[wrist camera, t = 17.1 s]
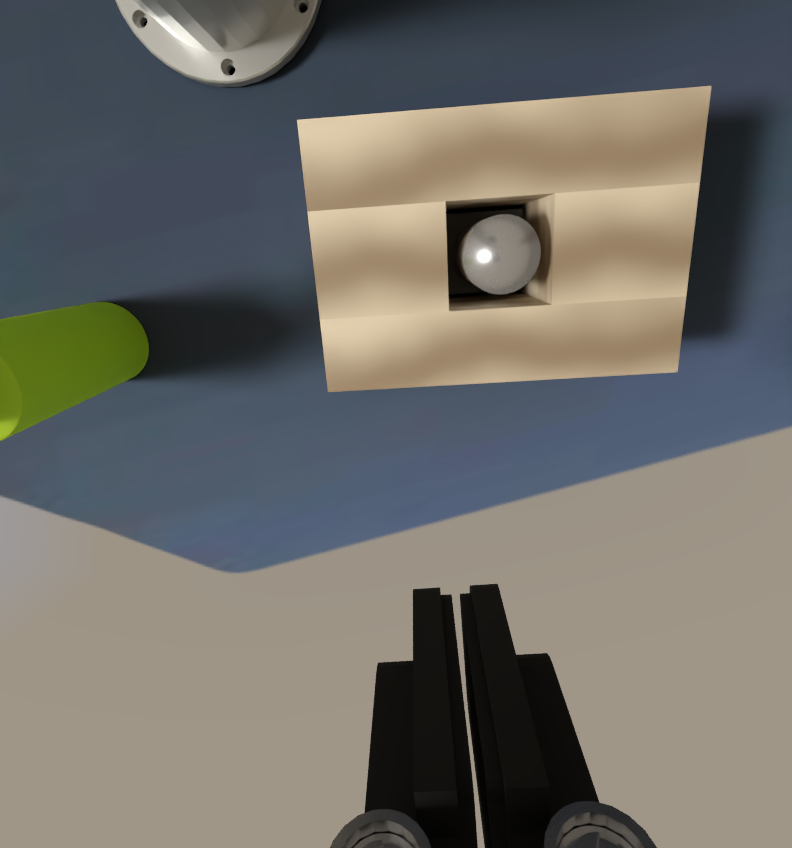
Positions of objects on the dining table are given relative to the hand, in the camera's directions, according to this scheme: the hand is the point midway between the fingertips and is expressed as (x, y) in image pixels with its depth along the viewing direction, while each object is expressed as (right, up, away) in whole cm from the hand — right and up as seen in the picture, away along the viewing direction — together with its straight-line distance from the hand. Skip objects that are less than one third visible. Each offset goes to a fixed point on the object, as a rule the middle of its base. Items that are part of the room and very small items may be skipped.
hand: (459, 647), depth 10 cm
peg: (+5, +16, +23) cm, 28 cm away
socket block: (+5, +16, +24) cm, 30 cm away
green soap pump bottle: (-22, +11, +27) cm, 37 cm away
